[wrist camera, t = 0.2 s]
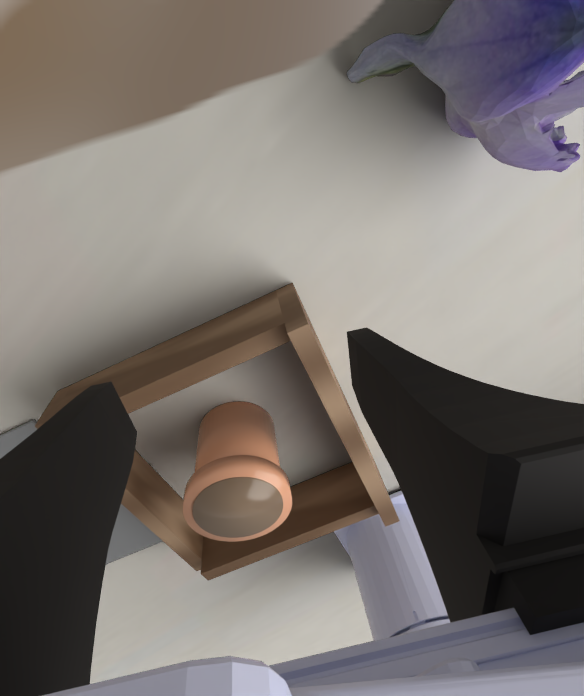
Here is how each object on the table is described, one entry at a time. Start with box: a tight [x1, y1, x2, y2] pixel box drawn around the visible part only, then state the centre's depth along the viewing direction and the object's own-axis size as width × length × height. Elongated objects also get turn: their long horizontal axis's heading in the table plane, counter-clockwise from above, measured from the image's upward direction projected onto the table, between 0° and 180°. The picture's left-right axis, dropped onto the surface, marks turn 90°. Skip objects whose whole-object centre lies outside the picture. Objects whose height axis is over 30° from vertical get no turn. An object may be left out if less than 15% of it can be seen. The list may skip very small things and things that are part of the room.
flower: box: [347, 0, 584, 172], centre depth 14 cm, size 9×9×10 cm
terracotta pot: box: [183, 401, 292, 542], centre depth 23 cm, size 6×6×6 cm
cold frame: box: [35, 283, 400, 580], centre depth 23 cm, size 16×15×5 cm
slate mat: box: [0, 420, 162, 564], centre depth 27 cm, size 14×10×1 cm
